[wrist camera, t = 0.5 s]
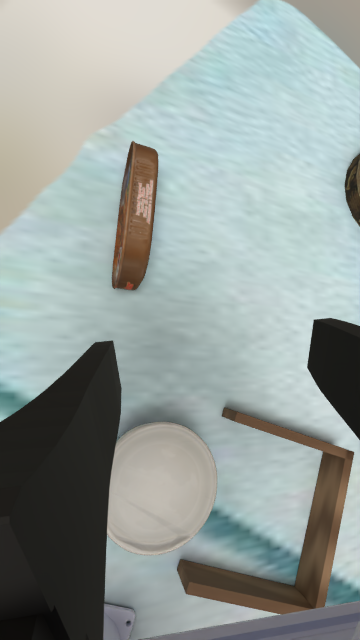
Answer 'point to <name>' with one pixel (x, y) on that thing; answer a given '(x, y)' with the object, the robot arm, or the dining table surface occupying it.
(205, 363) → the dining table surface
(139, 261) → the tin
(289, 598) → the box
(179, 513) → the ramekin
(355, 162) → the wood slice coaster
